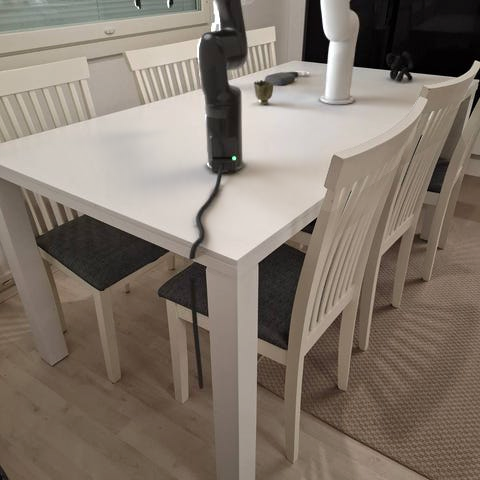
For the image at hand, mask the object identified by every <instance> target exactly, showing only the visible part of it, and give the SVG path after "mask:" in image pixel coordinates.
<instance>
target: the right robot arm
mask: <svg viewBox="0 0 480 480" xmlns="http://www.w3.org/2000/svg"><path fill="white" fill-rule="evenodd" d="M255 1H256V0H241V4H242V6H245V5H251V4H253V3H254V2H255ZM351 1H352V0H320V11H321V19H322V20H321V21H322V28H323V32H324V36H325V37H326V39H328V41H329V45H328V54H327V66H326V77H325V78H326V79H325V91H324V94H323V95H321V96H320V101H321V102H322V103H326V104H330V105H347V104H351V103H353V102H354V99H355V98H354V96H353V95H351V88H352V82H353V81H352V80H353V70H354V62H355V53H356V46H357V40H358V35H359V29H360V20H359V19H360V18H359V16H358V14H357V13H356V12H355V10H354V11H353V10H352V9H351V7H350V2H351ZM213 18H214V19H213V22H211V31H217V30H220V29H219V19H218V12H217V8H216V4H215V2H214V1H213ZM211 31H210V32H211Z"/></svg>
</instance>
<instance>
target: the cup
mask: <svg viewBox="0 0 480 480" xmlns="http://www.w3.org/2000/svg"><path fill="white" fill-rule="evenodd" d="M274 86H275V85H274V83H273V81H272V82H271V81H269V83H268V82H267V83H266V80H265V79H264V80H257V81H254V82H253V87H254V94H255V98H256V99H257V100H258V104H259V105H262V106H264V105H268V104H269V102H270V101H269V100H270V99H272V97H273V93H274Z"/></svg>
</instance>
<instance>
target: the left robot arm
mask: <svg viewBox="0 0 480 480" xmlns="http://www.w3.org/2000/svg"><path fill="white" fill-rule="evenodd" d="M166 2H167V8H172V6H174V0H166ZM214 2H215V4H216V8H217V12H218V19H219V29H220V30H217V31H206V32H205V33H203V34H202V35H201V36H200V37H199V39H198V42H197V49H196V51H197V52H196V53H197V54H196V55H197V66H198V74H199V83H200V89H201V92H202V94H203V99H204V100H203V101H204V116H205V117H204V118H205V133H206V134H205V135H206V153H207V168H208V169H209V170H211V172H212V173H217V177H216V182H215V185H214V188H213V190H212V192H211V194H210V195H209V197H208V199H206V202H205V203H204V204H203V205H202V206H201V207H200V208H199V210H198V212H197V214H196V217H195V221H196V225H197V228H198V230H199V236H198V238H197V239H196V240H195V241H194V242H193V244H192V246H191V247H190V251H189V258H188V259H189V260H190V261H191V260H194V259H195V257H196V252H197V249H198V247H199V246H200V245H201V244H202V243H203V241H204V240H205V237H206V233H205V228H204V226H203V223H202V216H203V213H204V212H205V211H206V210H207V208H208V207H209V206H210V205H211V203H212V202H213V200H214V199H215V197H216V195H217V193H218V191H219V189H220V185H221V181H222V176H223V173H237V171H239V170H240V169H242V168H243V166H244V160H243V114H242V113H243V109H242V108H243V106H242V105H243V104H242V103H243V102H242V101H243V100H242V99H243V98H242V96H243V95H242V90H241V88H240V87H239V86H236V85H231V84H230V83H229V79H228V73H229V72H232V71H236V70H239V69H242V68H243V67H244V66H245V64H246V62H247V59H248V54H249V48H248V47H249V46H248V37H247V31H246V25H245V18H244V12H243V5H242V4H241V0H213V3H214ZM134 6H135V7H136V8H137V9H138V10H142V2H141V0H134ZM189 286H190V287H189V288H190V289H189V290H190V305H191V306H190V308H191V319H192V320H191V321H192V331H193V340H194V341H193V343H194V351H195V360H196V371H197V380H198V389H199V390H203V389H204V377H203V368H202V367H203V366H202V357H201V356H202V355H201V347H200V337H199V336H200V335H199V325H198V323H199V322H198V311H197V310H198V309H197V292H196V291H197V290H196V278H190V279H189Z"/></svg>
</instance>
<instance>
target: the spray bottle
mask: <svg viewBox="0 0 480 480" xmlns="http://www.w3.org/2000/svg"><path fill="white" fill-rule="evenodd" d="M307 75H309V76H310V72H309V71H305V70H295V71H285V72H284V71H282V72H275V73H272V74H268V75H266V76H265V78H264V81H265V80H266V83H267V82H268V83H269V81H271V82H272V81H273V83H274V86H284V85H288V84H291V83H293V82H294V81H296V77H298V76H307Z"/></svg>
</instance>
